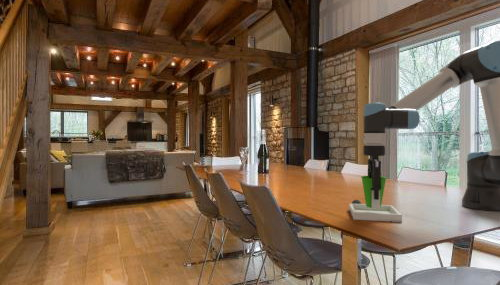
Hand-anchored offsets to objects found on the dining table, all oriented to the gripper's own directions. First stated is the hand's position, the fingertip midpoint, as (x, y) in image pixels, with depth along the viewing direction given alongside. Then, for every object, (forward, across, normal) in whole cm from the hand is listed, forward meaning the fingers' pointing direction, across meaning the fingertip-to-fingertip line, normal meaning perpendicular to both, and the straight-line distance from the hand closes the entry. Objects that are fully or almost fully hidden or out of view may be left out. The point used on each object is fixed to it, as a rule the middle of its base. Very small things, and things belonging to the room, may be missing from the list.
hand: (373, 205), depth 121 cm
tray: (+4, 0, 0) cm, 4 cm away
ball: (+4, -11, -5) cm, 13 cm away
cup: (+1, 0, 0) cm, 1 cm away
